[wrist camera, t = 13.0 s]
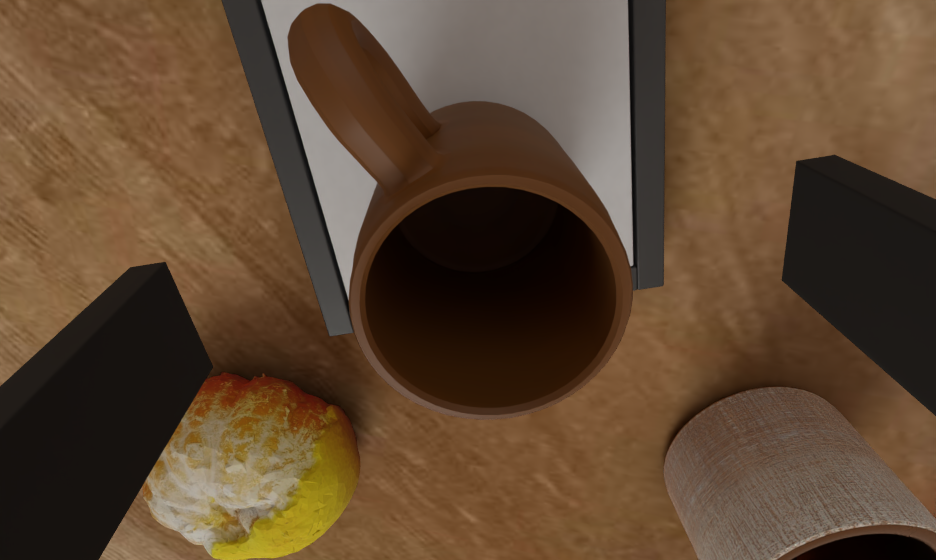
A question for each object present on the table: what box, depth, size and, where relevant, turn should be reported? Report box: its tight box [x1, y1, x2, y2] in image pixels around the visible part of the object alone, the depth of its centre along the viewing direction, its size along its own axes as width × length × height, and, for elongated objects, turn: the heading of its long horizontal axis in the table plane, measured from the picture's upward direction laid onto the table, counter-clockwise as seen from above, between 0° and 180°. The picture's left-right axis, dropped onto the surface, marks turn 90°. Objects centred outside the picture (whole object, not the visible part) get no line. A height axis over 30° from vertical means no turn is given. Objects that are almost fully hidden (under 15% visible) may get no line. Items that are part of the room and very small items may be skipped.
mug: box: [287, 3, 633, 420], centre depth 18 cm, size 12×8×9 cm, turn 33°
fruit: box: [143, 372, 360, 560], centre depth 30 cm, size 11×10×8 cm
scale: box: [222, 0, 666, 336], centre depth 24 cm, size 16×16×3 cm
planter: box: [664, 386, 936, 560], centre depth 30 cm, size 11×11×10 cm
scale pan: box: [261, 0, 633, 300], centre depth 23 cm, size 13×13×2 cm
